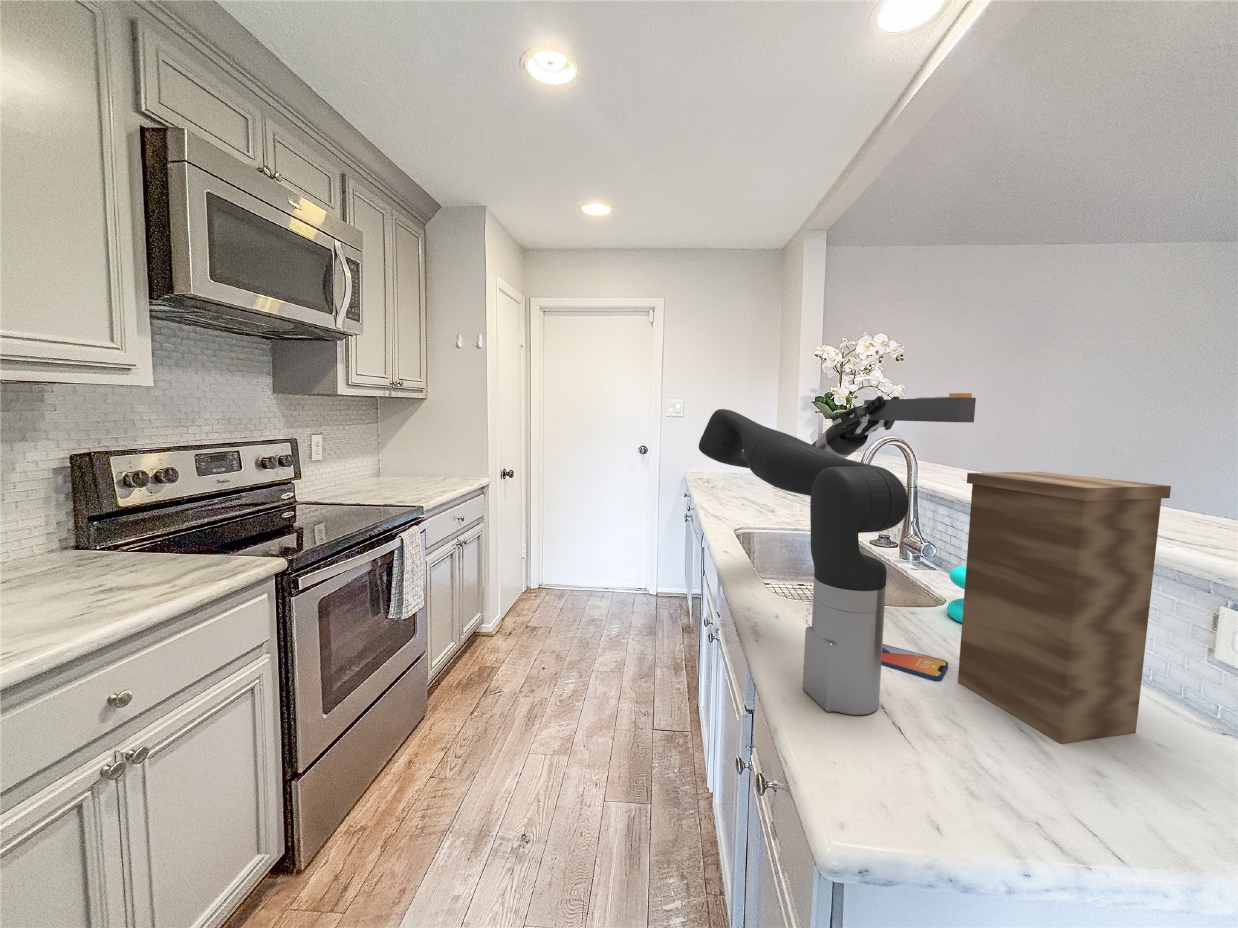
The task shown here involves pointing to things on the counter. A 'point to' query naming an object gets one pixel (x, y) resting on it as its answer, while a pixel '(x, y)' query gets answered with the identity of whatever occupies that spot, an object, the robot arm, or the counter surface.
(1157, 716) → the counter surface
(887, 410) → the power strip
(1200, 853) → the counter surface
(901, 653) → the smartphone
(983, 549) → the wooden lidded box
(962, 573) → the turquoise spool
